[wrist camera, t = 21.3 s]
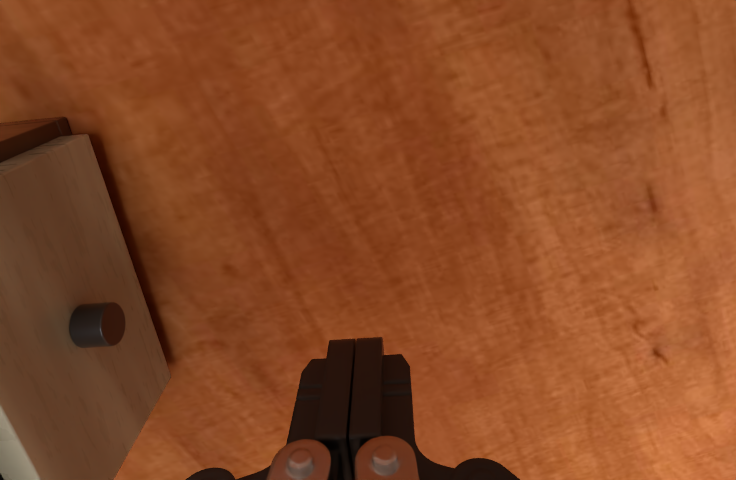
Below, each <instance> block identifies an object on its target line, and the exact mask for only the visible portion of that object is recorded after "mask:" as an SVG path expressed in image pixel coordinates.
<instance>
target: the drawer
mask: <svg viewBox="0 0 736 480" xmlns="http://www.w3.org/2000/svg"><path fill="white" fill-rule="evenodd" d="M170 378H171V374H170V371H169V368H168V366H167V363H166V360H165V357H164V354H163V351H162V348H161V345H160V342H159V339H158V336H157V334H156V331H155V328H154V325H153V322H152V319H151V316H150V313H149V310H148V307H147V304H146V302H145V299H144V296H143V293H142V290H141V287H140V284H139V281H138V278H137V275H136V272H135V270H134V267H133V264H132V261H131V258H130V255H129V252H128V249H127V246H126V243H125V240H124V238H123V235H122V232H121V229H120V226H119V223H118V220H117V217H116V214H115V211H114V208H113V206H112V203H111V200H110V197H109V194H108V191H107V188H106V185H105V182H104V179H103V176H102V174H101V171H100V168H99V165H98V162H97V159H96V156H95V153H94V150H93V147H92V144H91V142H90V139H89V136H88V134H80V135H70V136H61V137H58V138H56V139H53V140H51V141H49V142H47V143H44V144H42V145H40V146H38V147H35V148H33V149H31V150H28V151H26V152H24V153H22V154H19V155H17V156H15V157H12V158H10V159H8V160H6V161H3V162H1V163H0V480H114V478H115V476H116V474H117V473H118V471H119V469H120V467H121V465H122V464H123V462H124V460H125V458H126V456H127V455H128V453H129V451H130V449H131V447H132V446H133V444H134V442H135V440H136V439H137V437H138V435H139V433H140V431H141V430H142V428H143V426H144V424H145V422H146V421H147V419H148V417H149V415H150V413H151V412H152V410H153V408H154V406H155V404H156V403H157V401H158V399H159V397H160V396H161V394H162V392H163V390H164V388H165V387H166V385H167V383H168V381H169V379H170Z"/></svg>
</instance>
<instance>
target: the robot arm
mask: <svg viewBox="0 0 736 480" xmlns="http://www.w3.org/2000/svg"><path fill="white" fill-rule="evenodd" d="M186 480H235V478H234V476H233V475H232V474H231V473H230V472H229V471H227V470H225V469H222V468H208V469H204V470H201V471H199V472H196V473H195V474H193V475H191V476H190V477H189V478H187V479H186ZM236 480H520V479H519V478H517V477H516V476H515V475H514V474H512V473H511V472H510V471H509V470H507V469H506V468H505V467H504V466H502V465H501V464H499V463H497V462H495V461H492V460H489V459H484V458H474V459H469V460H466V461H464V462H462V463H460V464H459V465H458V466H457V467H456V468H451V467H447V466H443V465H440V464H436V463H434V462H432V461H430V460H429V459H427V458H426V457H425V456H424V455H423V454H422V453H421V452H420V451H419V449H418V447H417V445H416V443H415V435H414V420H413V405H412V391H411V377H410V366H409V365H408V363H407V362H406V360H405V359H404V357H403V356H402V354H397V355H384V348H383V339H382V337H374V338H357V340H355V339H341V340H330V341H329V345H328V352H327V358H326V359H312V360H311V361H310V362H309V364H308V365H307V366H306V368H305V369H304V370H303V371H302V374H301V379H300V383H299V389H298V393H297V397H296V402H295V407H294V411H293V416H292V421H291V425H290V430H289V435H288V439H287V444H286V446H284V447H283V448H282V449H281V450H279V452H278V453H277V454H276V455H275V457H274V459H273V461H272V464H271V465H270V466H269V467H267V468H266V469H264V470H262V471H259V472H257V473H254V474H251V475H248V476H245V477H242V478H239V479H236Z"/></svg>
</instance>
